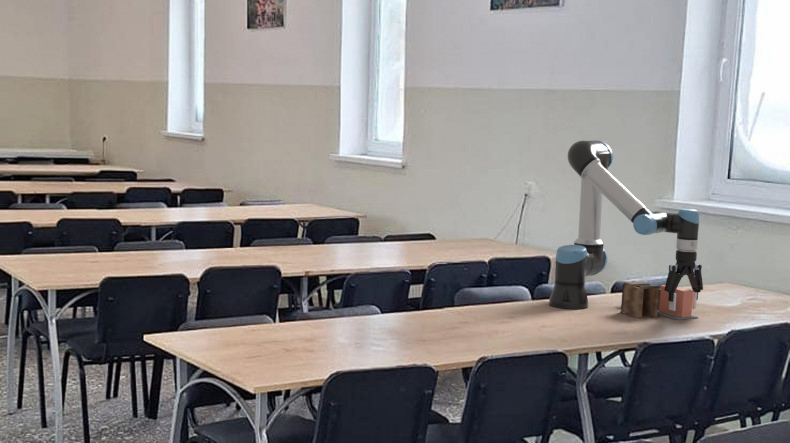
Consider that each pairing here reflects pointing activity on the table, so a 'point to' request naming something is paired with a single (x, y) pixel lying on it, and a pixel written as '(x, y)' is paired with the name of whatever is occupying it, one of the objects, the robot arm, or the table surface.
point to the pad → (675, 316)
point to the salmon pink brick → (677, 302)
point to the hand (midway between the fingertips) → (682, 309)
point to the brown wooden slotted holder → (640, 299)
